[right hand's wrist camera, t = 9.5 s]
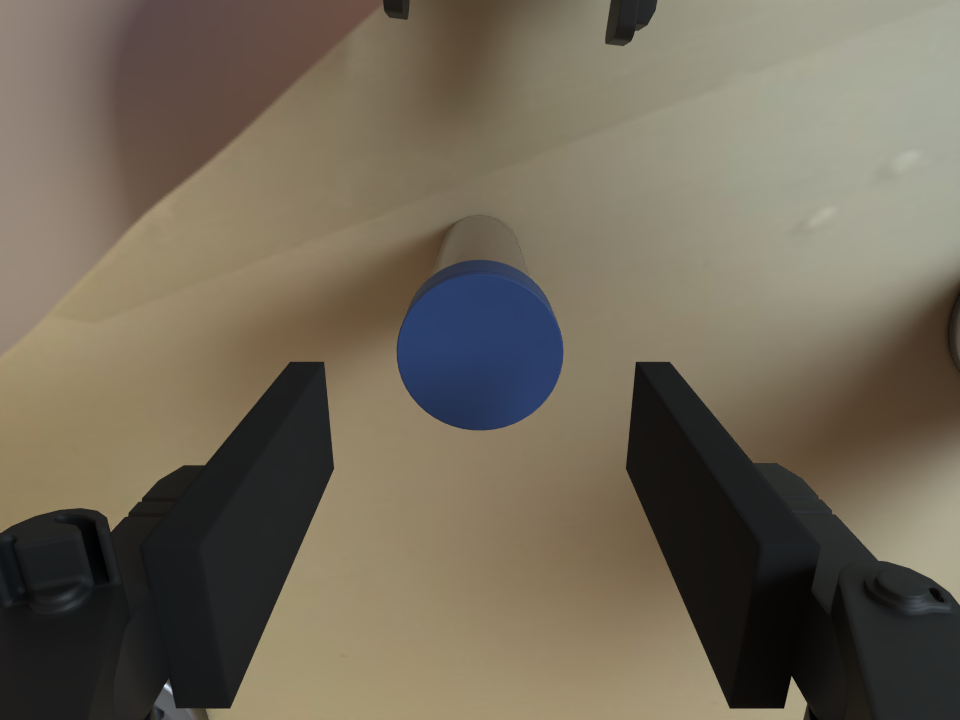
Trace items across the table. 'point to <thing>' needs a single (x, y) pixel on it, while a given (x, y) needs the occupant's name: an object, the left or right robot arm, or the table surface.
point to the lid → (480, 346)
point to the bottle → (479, 244)
